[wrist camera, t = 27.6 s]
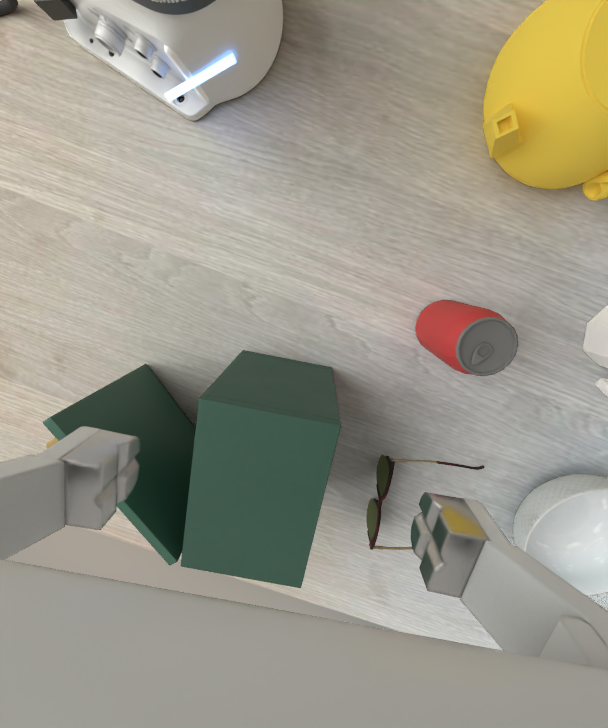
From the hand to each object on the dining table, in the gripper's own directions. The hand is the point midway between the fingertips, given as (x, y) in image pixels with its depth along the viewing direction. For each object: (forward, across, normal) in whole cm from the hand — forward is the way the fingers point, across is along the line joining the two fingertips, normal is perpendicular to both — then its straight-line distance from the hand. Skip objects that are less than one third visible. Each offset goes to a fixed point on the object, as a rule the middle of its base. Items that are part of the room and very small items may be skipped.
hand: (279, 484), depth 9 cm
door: (+34, +16, +19) cm, 42 cm away
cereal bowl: (+34, -41, +20) cm, 57 cm away
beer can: (+34, -17, -2) cm, 38 cm away
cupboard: (+34, +2, +15) cm, 37 cm away
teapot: (+34, -21, -25) cm, 47 cm away
